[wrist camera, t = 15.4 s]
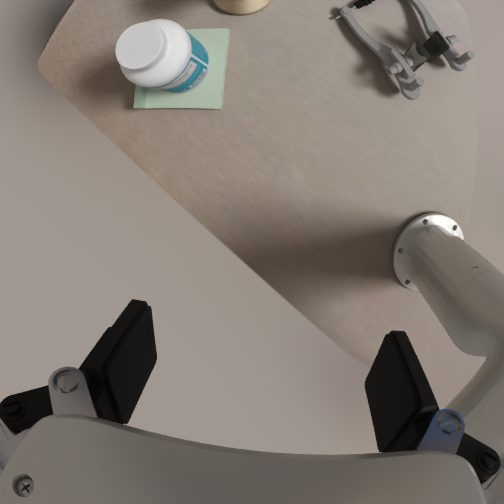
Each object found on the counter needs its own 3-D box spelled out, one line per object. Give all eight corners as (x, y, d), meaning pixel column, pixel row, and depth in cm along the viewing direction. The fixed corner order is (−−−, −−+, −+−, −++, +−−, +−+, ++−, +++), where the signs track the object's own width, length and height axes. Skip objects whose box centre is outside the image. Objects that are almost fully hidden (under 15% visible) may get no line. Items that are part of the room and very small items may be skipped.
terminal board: (230, 31, 31) (226, 24, 28) (221, 109, 36) (217, 108, 33) (150, 34, 32) (142, 30, 29) (142, 108, 36) (133, 108, 33)
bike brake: (466, 70, 28) (379, -33, 26) (488, 58, 22) (386, -57, 19) (399, 108, 33) (307, -3, 30) (415, 98, 26) (305, -27, 24)
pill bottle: (161, 41, 31) (110, 12, 19) (216, 41, 31) (185, 5, 18) (153, 93, 34) (96, 85, 22) (207, 96, 34) (170, 83, 22)
